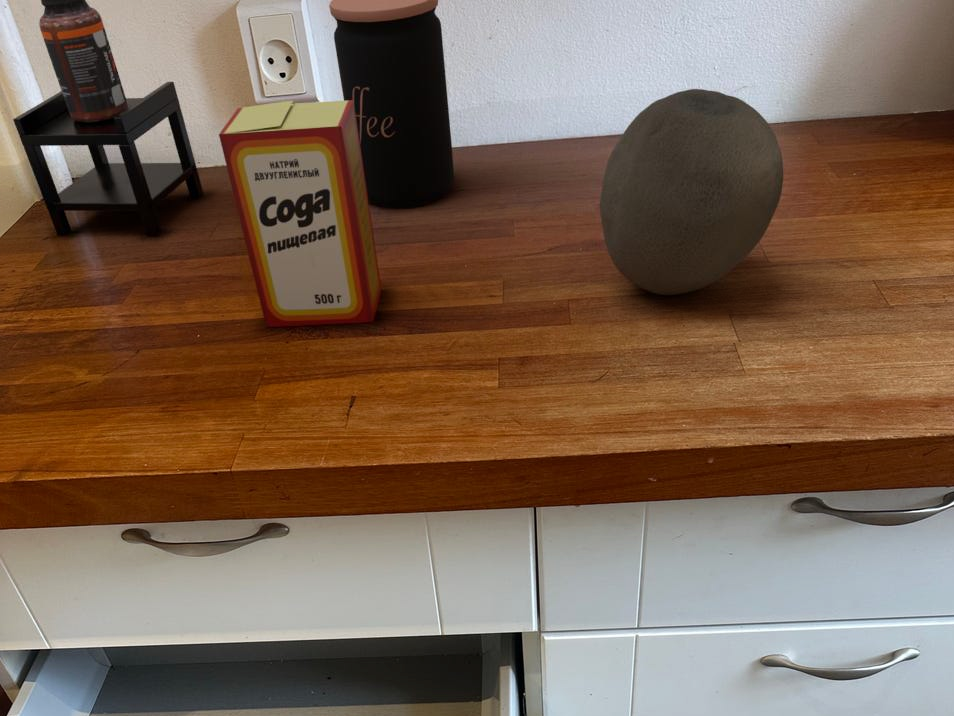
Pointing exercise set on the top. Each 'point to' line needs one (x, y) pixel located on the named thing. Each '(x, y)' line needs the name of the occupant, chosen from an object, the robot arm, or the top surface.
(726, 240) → the dark grey oval lump
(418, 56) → the coffee jar
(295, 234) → the baking soda box
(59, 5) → the supplement bottle
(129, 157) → the rack
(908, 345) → the top surface
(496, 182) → the top surface
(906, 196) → the top surface
